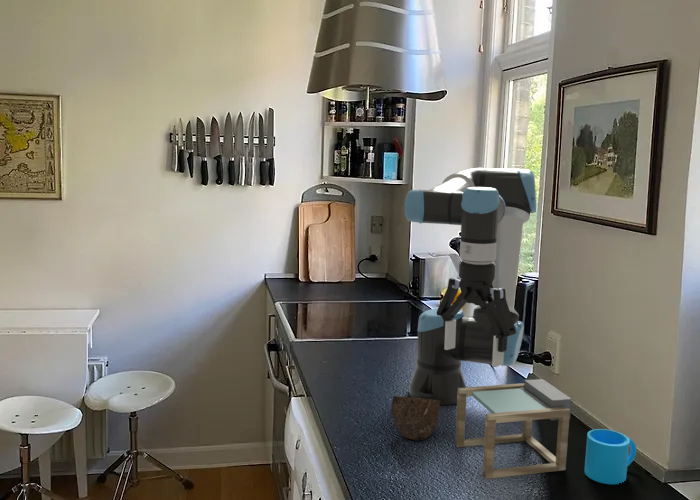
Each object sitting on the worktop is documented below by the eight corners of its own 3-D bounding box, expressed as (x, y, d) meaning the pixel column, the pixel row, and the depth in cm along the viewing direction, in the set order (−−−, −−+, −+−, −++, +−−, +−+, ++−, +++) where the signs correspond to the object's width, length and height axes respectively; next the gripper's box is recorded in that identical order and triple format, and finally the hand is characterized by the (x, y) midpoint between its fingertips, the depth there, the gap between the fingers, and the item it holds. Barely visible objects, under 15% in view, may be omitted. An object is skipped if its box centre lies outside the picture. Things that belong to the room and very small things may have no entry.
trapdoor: (471, 403, 151) (472, 384, 150) (541, 397, 155) (542, 379, 154) (495, 425, 140) (496, 405, 139) (570, 418, 144) (571, 398, 143)
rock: (431, 403, 165) (454, 392, 157) (434, 446, 161) (457, 437, 153) (385, 397, 161) (406, 385, 153) (387, 441, 156) (408, 432, 148)
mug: (604, 487, 136) (607, 449, 135) (575, 469, 144) (578, 432, 142) (649, 476, 141) (652, 439, 140) (619, 459, 149) (622, 423, 147)
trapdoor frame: (455, 444, 154) (457, 388, 152) (527, 437, 158) (531, 382, 156) (485, 478, 139) (489, 416, 137) (565, 470, 143) (570, 409, 141)
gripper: (422, 253, 153) (419, 345, 156) (513, 273, 133) (507, 377, 137) (446, 250, 157) (442, 339, 161) (537, 268, 138) (531, 369, 142)
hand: (472, 356), depth 149 cm, fingers open, 13 cm apart
